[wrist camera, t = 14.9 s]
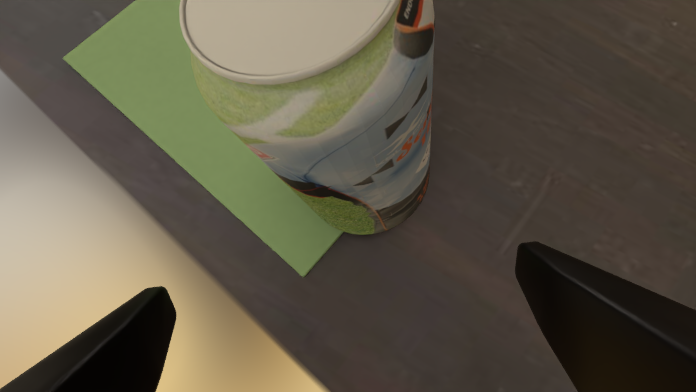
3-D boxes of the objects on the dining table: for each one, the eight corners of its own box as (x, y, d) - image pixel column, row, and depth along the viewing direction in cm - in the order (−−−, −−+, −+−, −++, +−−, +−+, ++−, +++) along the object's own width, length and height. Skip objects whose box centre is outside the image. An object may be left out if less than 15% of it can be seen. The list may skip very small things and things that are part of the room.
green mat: (303, 277, 17) (302, 277, 17) (66, 61, 22) (62, 58, 22) (429, 133, 19) (430, 131, 19) (187, -36, 24) (185, -40, 24)
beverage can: (433, 232, 17) (566, 77, 6) (282, 248, 17) (126, 125, 6) (413, 119, 19) (483, -163, 8) (277, 133, 19) (153, -124, 8)
